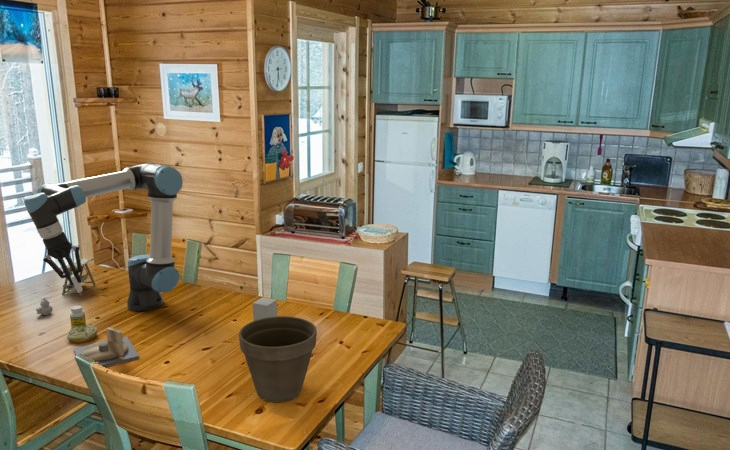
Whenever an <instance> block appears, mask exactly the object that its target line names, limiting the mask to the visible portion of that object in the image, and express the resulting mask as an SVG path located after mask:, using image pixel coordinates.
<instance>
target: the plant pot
mask: <svg viewBox="0 0 730 450" xmlns="http://www.w3.org/2000/svg"><path fill="white" fill-rule="evenodd" d="M317 334H318V332H317V327H316V325H315V324H314V323H312V322H311V321H310V320H307V319H303V318H301V317H297V316H296V317H295V316H285V315H281V316H280V315H279V316H278V315H277V316H275V317H267V318H262V319H258V320H255V321H253V320H252V321H250V322H248V323H246V324H245V325H243V327H241V329H240V330H239V332H238V339H239V348H240V351H241V353H242V354H243V355H244V358H245V362H246V364H247V367H248V370H249V373H250V377H251V380H252V384H253V387H254V388H255V391H256V392H255V393H256V395H257V396H258V397H259V398H260V399H262V400H264V401H266V402H270V403H282V402H287V401H291V400H293V399H295V398H297V397H298V396H299V395H300V394H301V392H302V389H303V386H304V383H305V379H306V375H307V371H308V369H309V364H310V361H311V358H312V352H313V350H314V349H315V348H316V346H317V345H316V344H317V336H318V335H317Z"/></svg>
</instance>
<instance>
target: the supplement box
mask: <svg viewBox="0 0 730 450" xmlns="http://www.w3.org/2000/svg"><path fill="white" fill-rule="evenodd" d="M252 316H253V319H252V321H255V320H258V319H262V318H267V317H275V316H278V299H274V298H268V297H261V298H259V299H257V300H255V301H253V302H252Z"/></svg>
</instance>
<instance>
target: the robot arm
mask: <svg viewBox="0 0 730 450" xmlns="http://www.w3.org/2000/svg"><path fill="white" fill-rule="evenodd" d="M182 188H183V176H182V174H181V173H180V171H179V170H177V169H176V168H175V167H173V166H170V165H166V164H159V163H153V162H151V163H150V162H149V163H143V164H142V163H141V164H139V165H133V166H129V167H125V168H123V169H122V171H116V172H111V173H107V174H101V175H97V176H91V177H85V178H80V179H79V178H78V179H75V180H71V181H66V182H59V183H53V184H52V183H44V184H42V185H40V186H39V187H38V189H37V191H36V194H32V195H30V196H28V197H26V198H25V199H24V203H23V204H24V206H25V208H26V211H27V213H28V215H29V217H30V218H31V220H32V222H33V224H34V225H35V228H36V231H37V232H38V234H39V236H40V238H41V239H42V243H43V244H44V246H45V248H46V250H47V251H46V253H47V254H45V256H44V257H43V259H42V261H43V262H45V263H46V264H48V265H49V266H50V268H52V269H53V271H54V272H55V273H56V274H57V276H58V277H59V278H60V279H66V278H67V279H68V281H67V282H68V283H70V285H74V286H75V288H74V289H75V291H77V292H78V294H79V292H81V293H82V292H83V287H82V285H81V283H79V282H81V278H80V276H79V275H80V272H81V271H82V266H81V256H80V249H81V246H80V245H79V244H77V245H73V244H72V243H71V242H70V241H69V239H68V237H67V235H66V233H65V231H64V229H63V227H62V225H61V223H60V221H59V219H58V216H60V215H61V214H63V213H65V212H69V211H70V210H73V209H76V208H78V207H80V206H83V205H84V204H85V203H86V202H87V198H90V197H95V196H98V195H105V194H108V193H113V192H118V191H122V190H123V191H124V190H129V191H133V190H146V191H147V198H148V199H149V201H151V202H150V203H151V205H150V243H149V245H150V246H149V254H148V253H147V254H139V255H134V256H132V257H130V258H129V259H128V260H127V269H128V280H129V293H128V297H127V301H126V305H127V309H129V310H130V311H135V312H146V311H147V312H148V311H151V310H156V309H158V308H160V307H161V306H162V305H163V304H164V299H163V296H162V293H168V292H171V291H173V290H174V289H175V287H177V285H178V284H179V282H180V272H179V270H178V269H177V268H176V267H175V263H176V261H175V259H174V257H173V256H172V245H173V244H172V243H173V242H172V240H173V213H174V212H173V207H174V206H173V205H174V201H175V200H176V199H177V197H178V195H177V194H178V193H180V190H182ZM71 252H74V257H75V261H76V263H77V269H76V267H75V265H74V264H75V263H74V261H73V259H72V256H71ZM52 258H53V259H55V260H57V262H58V263H59V265H60V266H58V265H57V264H56V262H55V261H54V260H53V259H52ZM64 259H65V260H64ZM65 261H66V262H67V263H68V266H69V267H70V268H71V270H72V274H73V275H71V273H70V272H69V270H68V266H67V264H66V262H65ZM61 268H62V269H61ZM63 271H64V273H65V274H64V273H63Z"/></svg>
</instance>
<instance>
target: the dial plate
mask: <svg viewBox="0 0 730 450" xmlns="http://www.w3.org/2000/svg"><path fill="white" fill-rule="evenodd" d="M122 339H123V341H124V342H125V343H127V346H128V349H127V351H126V352H125V353H124V355H122V356H119V357H116V358H114V359H110V360H104V361H95V362H96V363H97V364H99V365H102V366H104V367H108V366H113V365H116V364H122V363H125V362H131V361H134V360H138V359H140V355H139V353H138V352H137V350H136V348H135V347H134V346H133V344H132V342H131V341H130V339H129V338H128V336H124V337H122ZM92 344H93V343H91V344H88V345H87V344H86V345H82V346H77V347H74V348H73V352H74V355H75V356H76V355H77V354H82V355H83V351H84V349H85V348H86V347H88V346H90V345H92ZM104 367H103V368H104Z"/></svg>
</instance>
